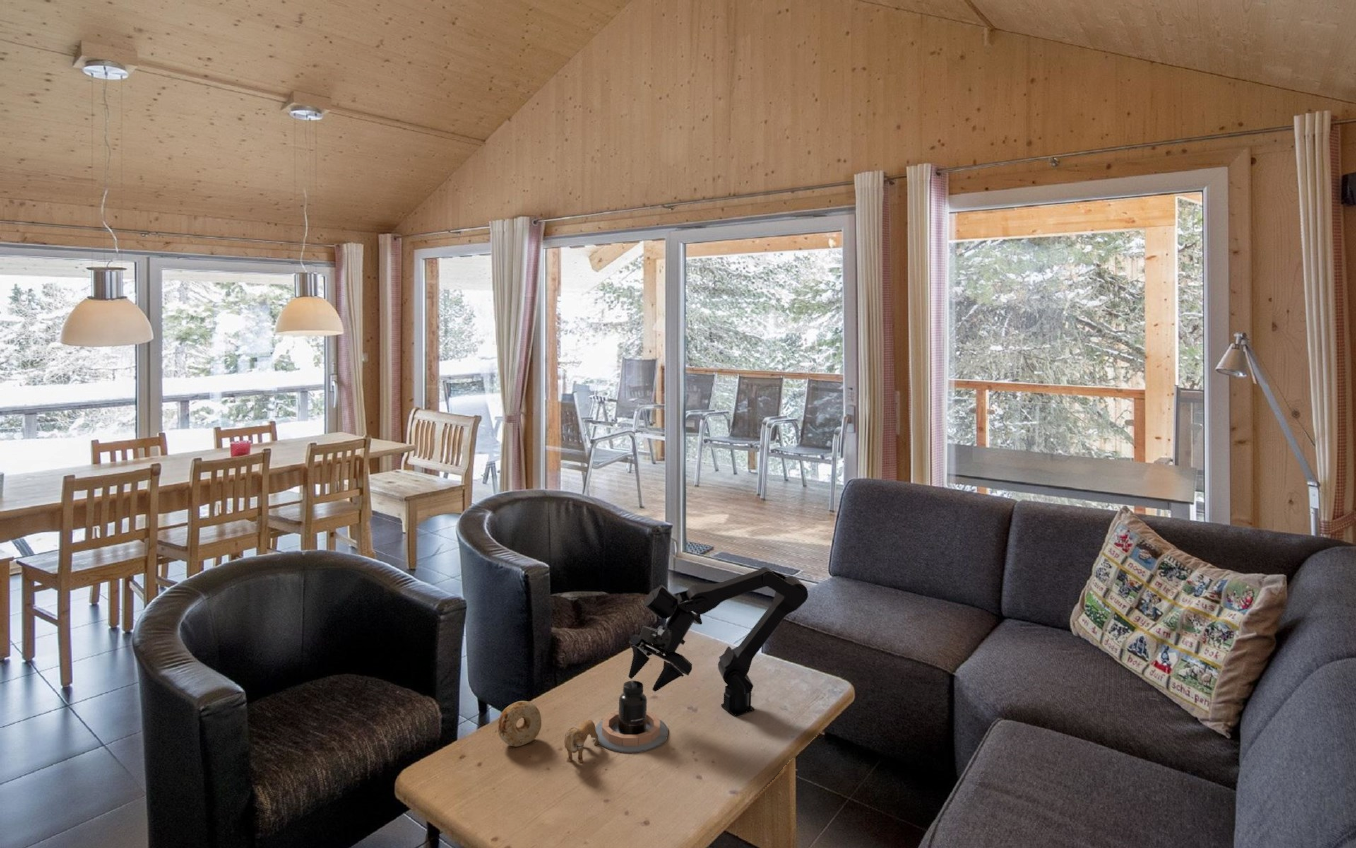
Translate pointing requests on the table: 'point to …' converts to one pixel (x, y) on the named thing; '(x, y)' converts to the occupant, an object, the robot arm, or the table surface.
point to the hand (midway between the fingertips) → (641, 684)
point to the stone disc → (526, 730)
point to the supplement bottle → (632, 709)
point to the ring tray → (631, 748)
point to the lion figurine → (579, 739)
